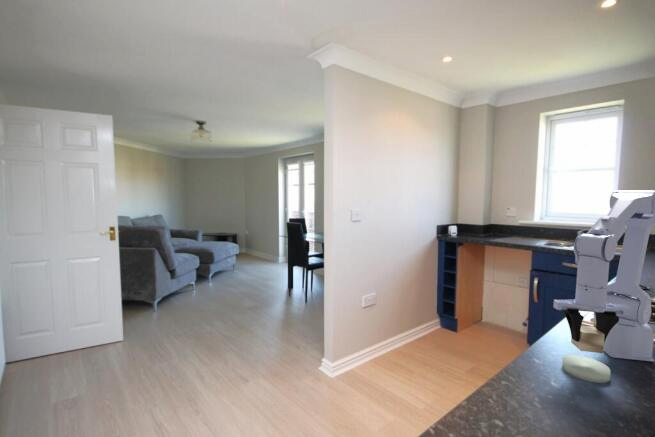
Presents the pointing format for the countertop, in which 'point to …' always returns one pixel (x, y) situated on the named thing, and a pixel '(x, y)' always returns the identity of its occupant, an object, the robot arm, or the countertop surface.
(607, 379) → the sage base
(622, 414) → the countertop surface
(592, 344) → the beech cube
